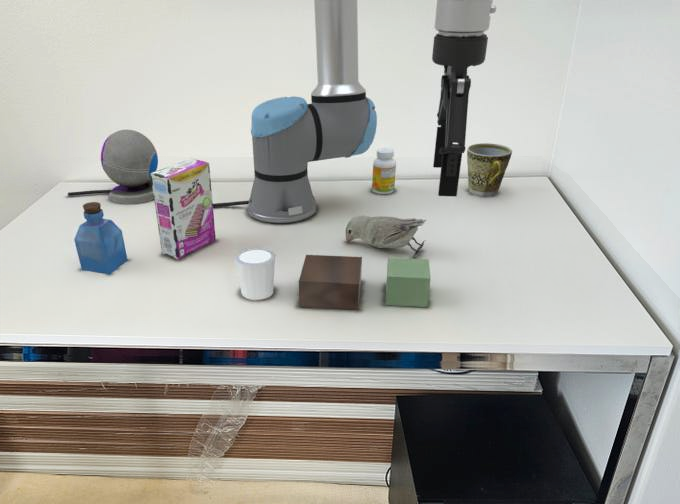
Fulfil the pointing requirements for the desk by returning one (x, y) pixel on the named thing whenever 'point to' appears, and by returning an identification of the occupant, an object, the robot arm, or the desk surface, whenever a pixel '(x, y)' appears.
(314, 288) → the walnut block
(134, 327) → the desk surface
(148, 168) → the grey ball on base
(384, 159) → the supplement bottle
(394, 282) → the green block
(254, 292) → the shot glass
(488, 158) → the ceramic cup
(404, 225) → the decorative bird
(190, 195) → the candy bar box
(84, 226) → the perfume bottle
